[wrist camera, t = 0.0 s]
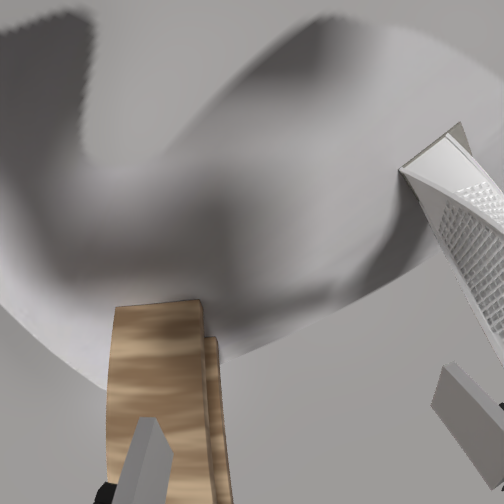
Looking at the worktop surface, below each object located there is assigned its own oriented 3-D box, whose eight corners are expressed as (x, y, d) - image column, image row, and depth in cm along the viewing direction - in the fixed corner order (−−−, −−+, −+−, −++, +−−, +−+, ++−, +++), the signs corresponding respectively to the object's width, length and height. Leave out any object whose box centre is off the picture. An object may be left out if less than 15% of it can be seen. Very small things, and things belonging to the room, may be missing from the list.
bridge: (115, 307, 30) (120, 566, 11) (199, 299, 30) (225, 580, 11) (151, 347, 39) (161, 542, 20) (217, 342, 40) (239, 546, 20)
